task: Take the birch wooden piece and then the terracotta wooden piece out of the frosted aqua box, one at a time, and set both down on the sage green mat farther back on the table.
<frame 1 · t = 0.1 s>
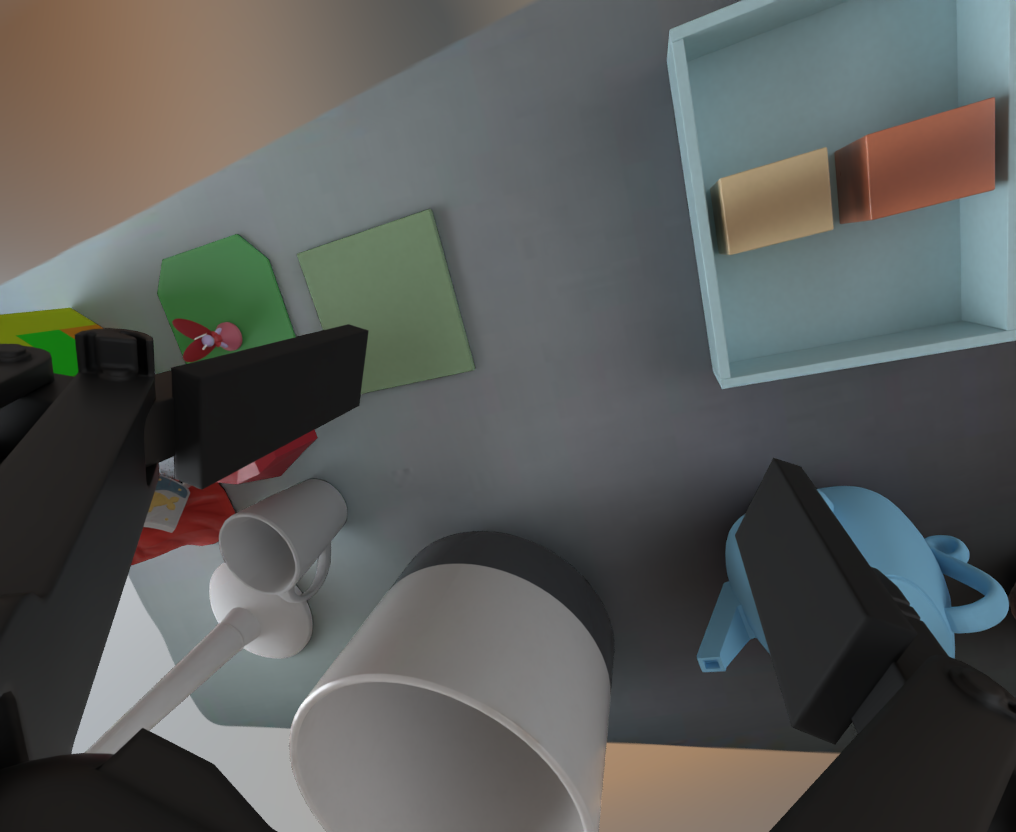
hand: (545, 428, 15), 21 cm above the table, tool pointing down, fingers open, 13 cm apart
mat: (387, 310, 39), on the table
teapot: (800, 548, 36), on the table
box: (818, 194, 29), on the table
puzzle toy: (107, 375, 49), on the table
figurine: (185, 496, 52), on the table
planter: (509, 604, 45), on the table
terracotta piece: (887, 175, 27), resting on box
birch piece: (758, 210, 29), resting on box
cup: (328, 514, 47), on the table
low-poly diorama: (254, 358, 44), on the table
candlestick: (263, 605, 54), on the table
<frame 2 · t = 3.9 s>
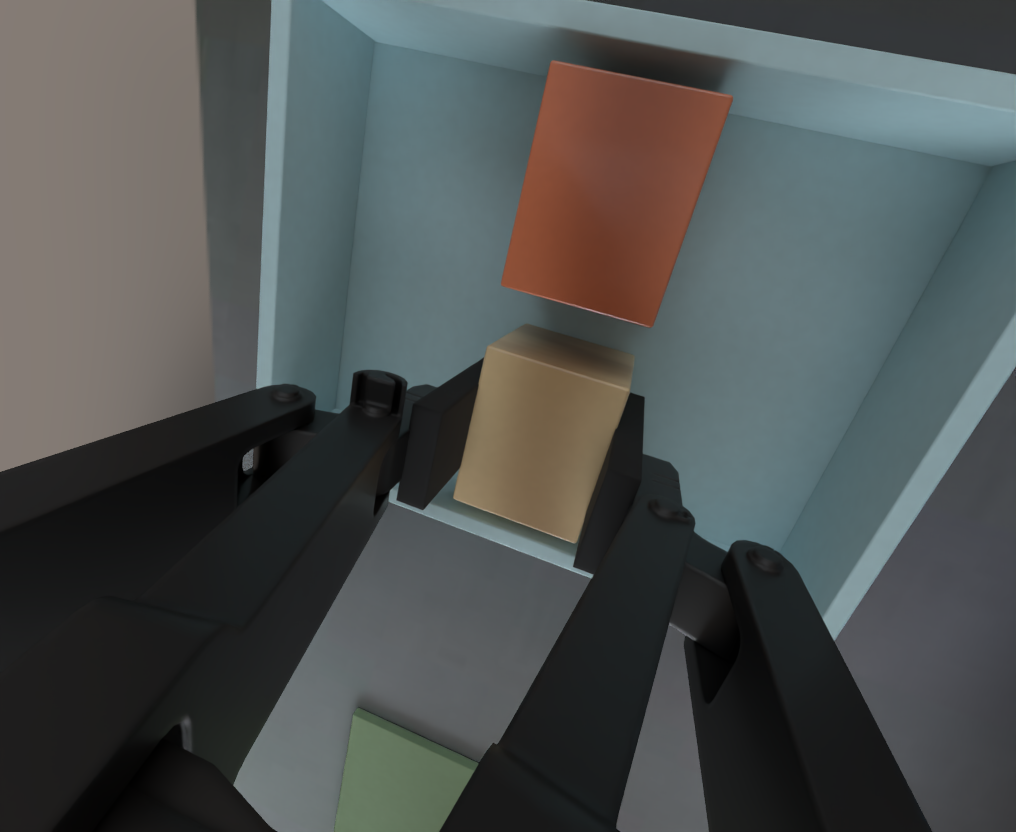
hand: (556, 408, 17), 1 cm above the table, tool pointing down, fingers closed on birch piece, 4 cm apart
mat: (437, 818, 28), on the table
box: (587, 314, 17), on the table
terracotta piece: (616, 213, 15), resting on box
birch piece: (559, 403, 18), resting on box, touching gripper
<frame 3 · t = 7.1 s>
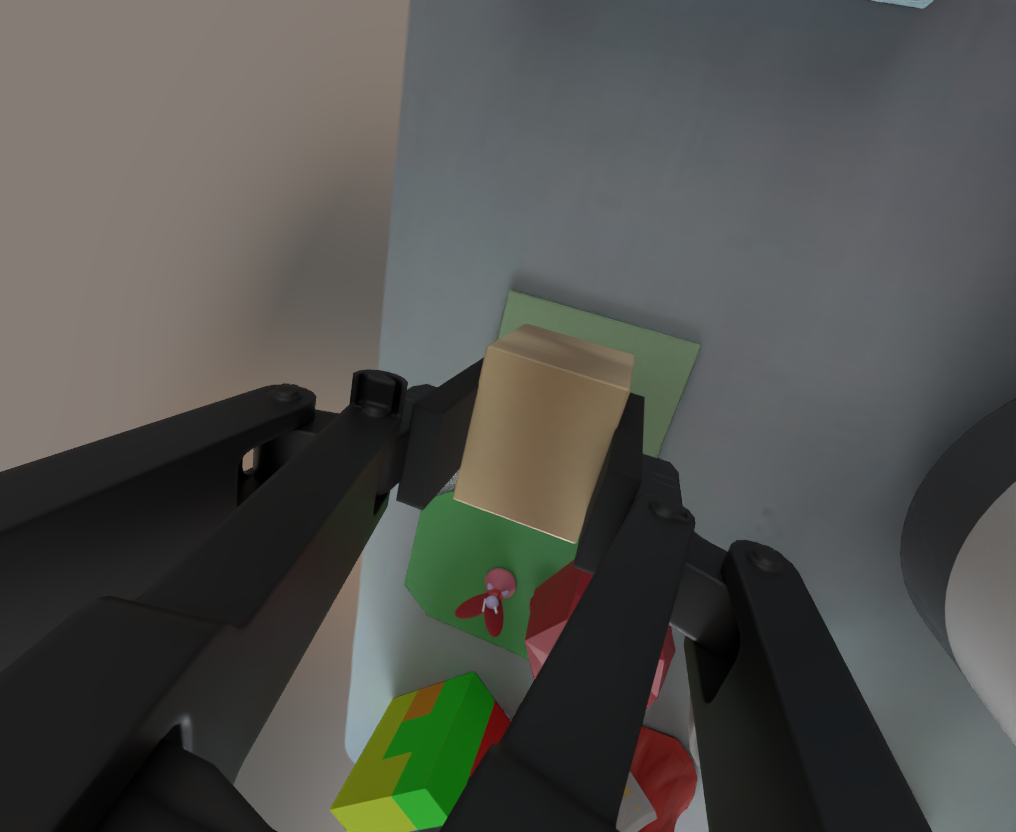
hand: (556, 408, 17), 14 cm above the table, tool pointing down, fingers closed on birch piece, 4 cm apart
mat: (574, 404, 32), on the table
puzzle toy: (463, 724, 45), on the table
figurine: (621, 770, 41), on the table
birch piece: (559, 403, 18), point 14 cm above the table, touching gripper
cup: (753, 644, 34), on the table
low-poly diorama: (535, 578, 38), on the table
when the fingers open (1 cm above the table, at t = 10.4 s): birch piece stays where it is, resting on mat.
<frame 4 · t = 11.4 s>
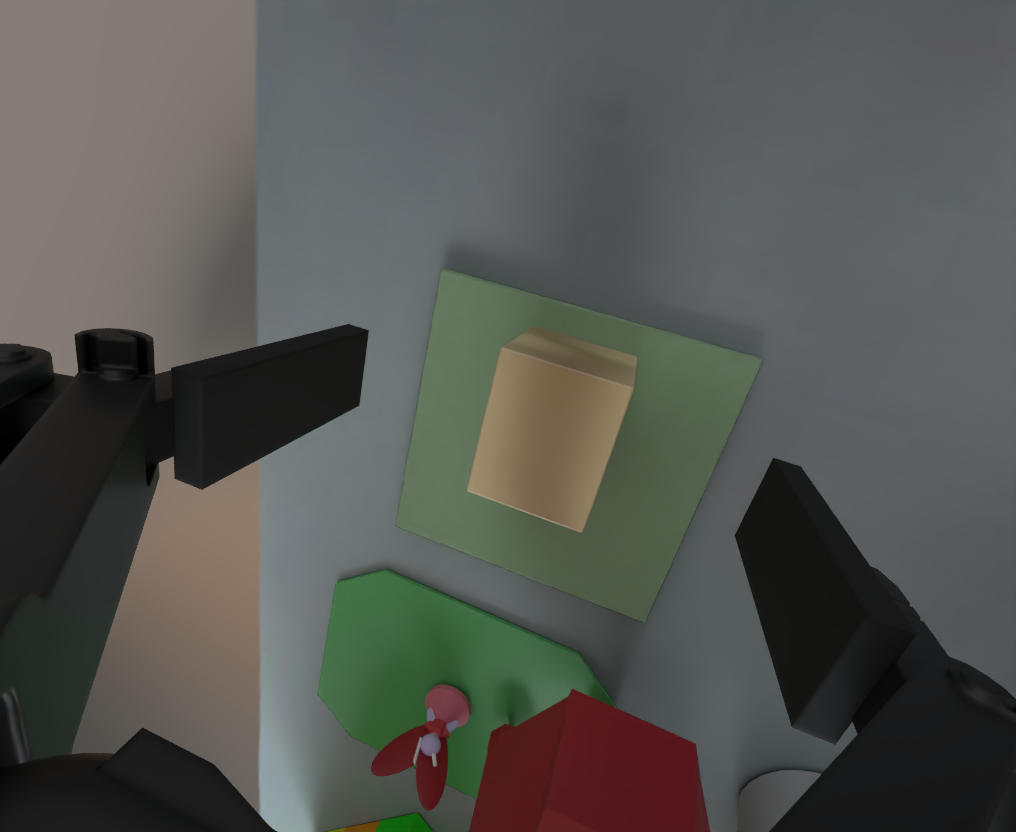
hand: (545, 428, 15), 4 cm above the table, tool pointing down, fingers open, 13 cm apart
mat: (551, 452, 20), on the table
birch piece: (566, 402, 19), resting on mat
cup: (830, 819, 22), on the table
low-poly diorama: (498, 699, 26), on the table
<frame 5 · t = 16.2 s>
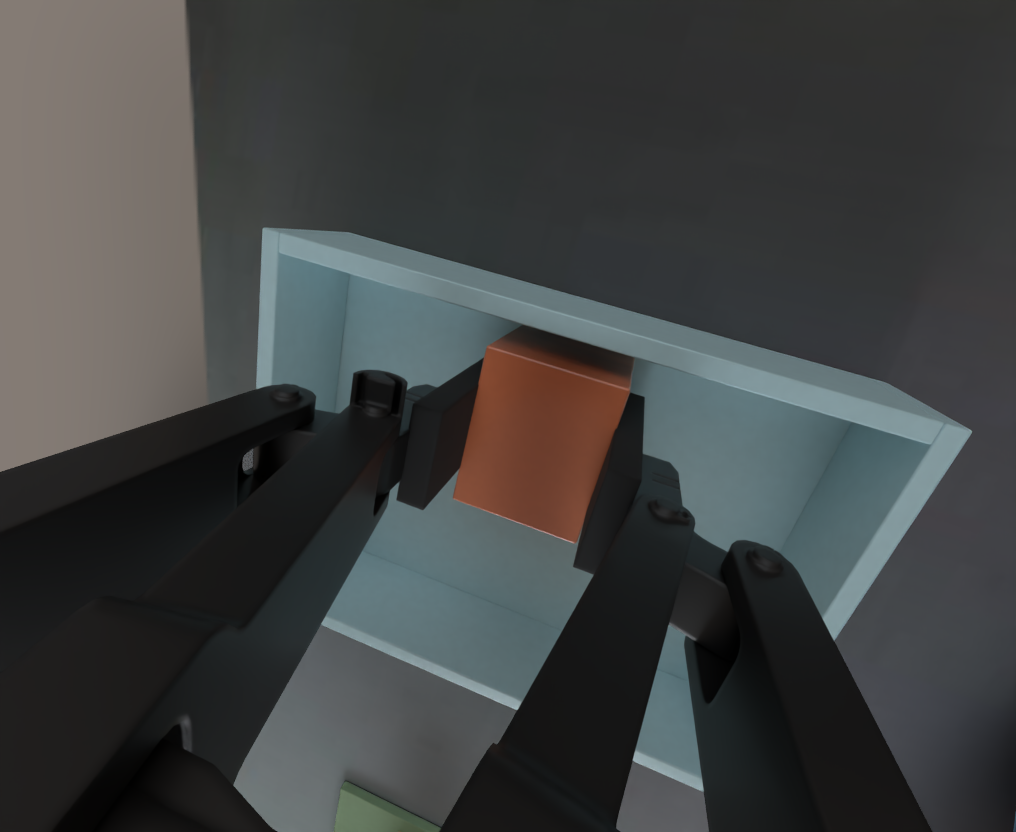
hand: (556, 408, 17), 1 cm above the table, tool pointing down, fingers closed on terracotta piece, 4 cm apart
box: (539, 474, 20), on the table
terracotta piece: (559, 403, 18), resting on box, touching gripper
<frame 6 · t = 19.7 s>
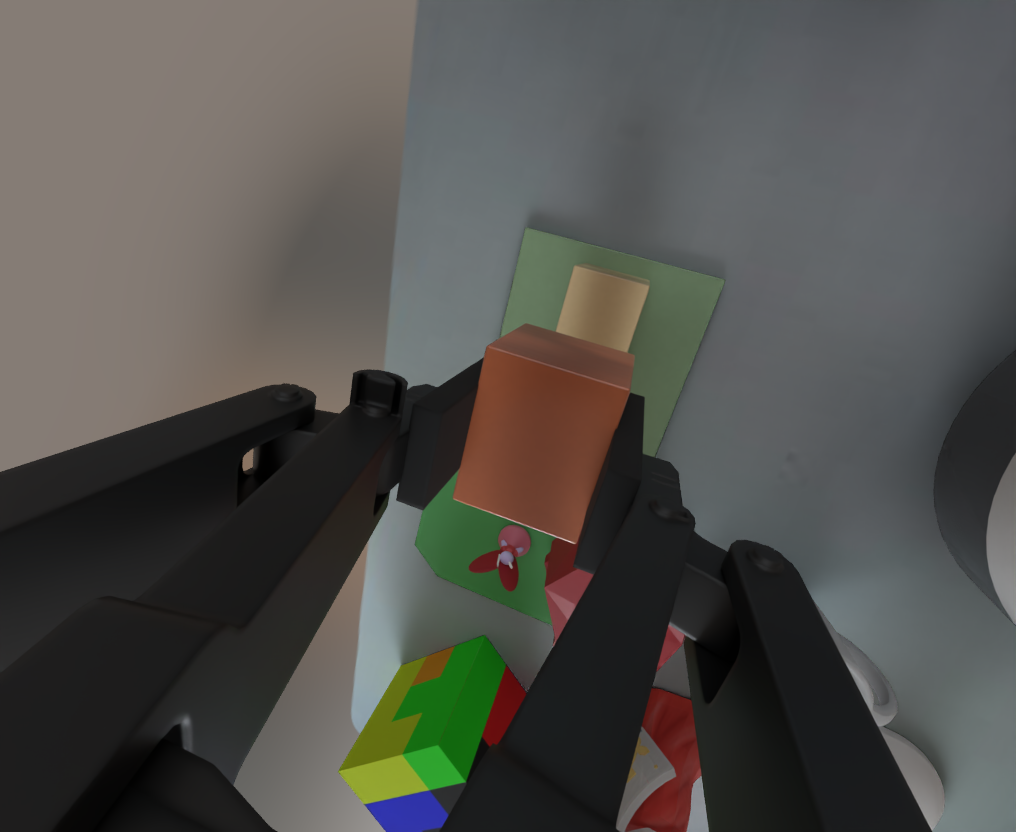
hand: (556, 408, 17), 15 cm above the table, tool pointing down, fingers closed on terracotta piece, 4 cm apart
mat: (592, 348, 31), on the table
puzzle toy: (473, 691, 44), on the table
figurine: (635, 735, 41), on the table
terracotta piece: (559, 403, 18), point 14 cm above the table, touching gripper
birch piece: (604, 312, 30), resting on mat
cup: (775, 599, 33), on the table
low-poly diorama: (550, 535, 37), on the table
candlestick: (835, 778, 37), on the table
when the fingers open (1 cm above the table, at t = 23.3 s): terracotta piece stays where it is, resting on mat.
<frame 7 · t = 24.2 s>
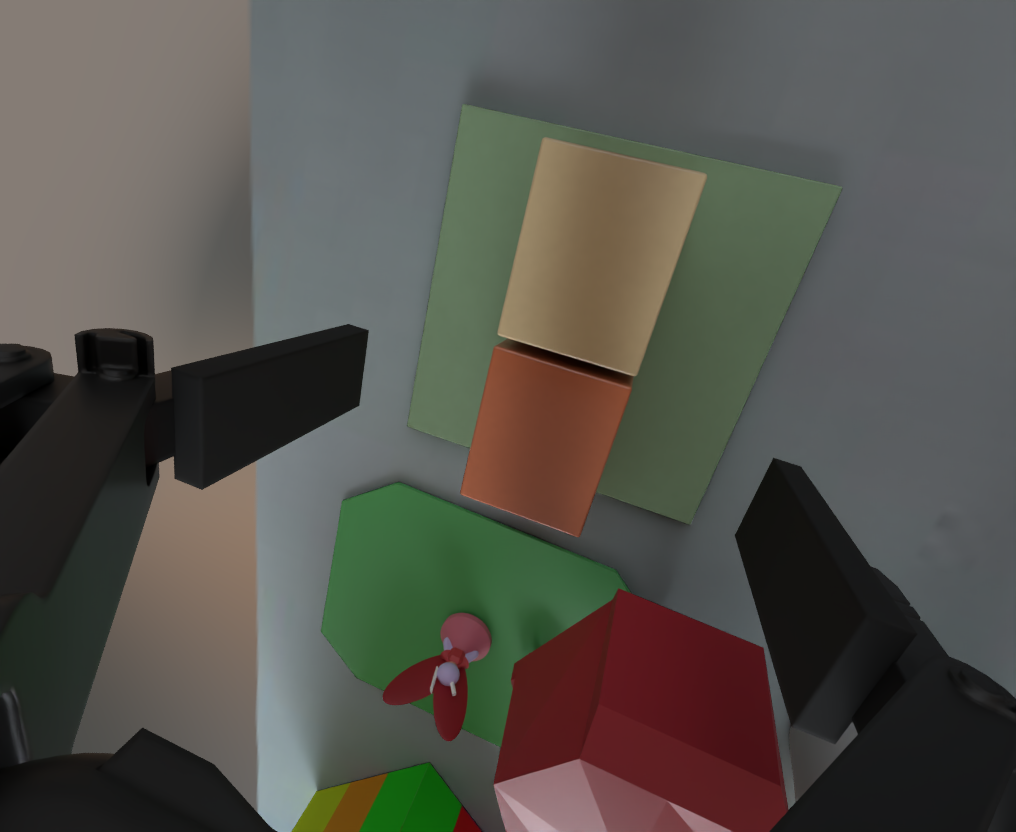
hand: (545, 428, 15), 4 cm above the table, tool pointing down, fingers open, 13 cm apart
mat: (585, 327, 18), on the table
terracotta piece: (563, 402, 18), resting on mat
birch piece: (606, 259, 16), resting on mat
cup: (894, 750, 20), on the table
low-poly diorama: (522, 629, 23), on the table
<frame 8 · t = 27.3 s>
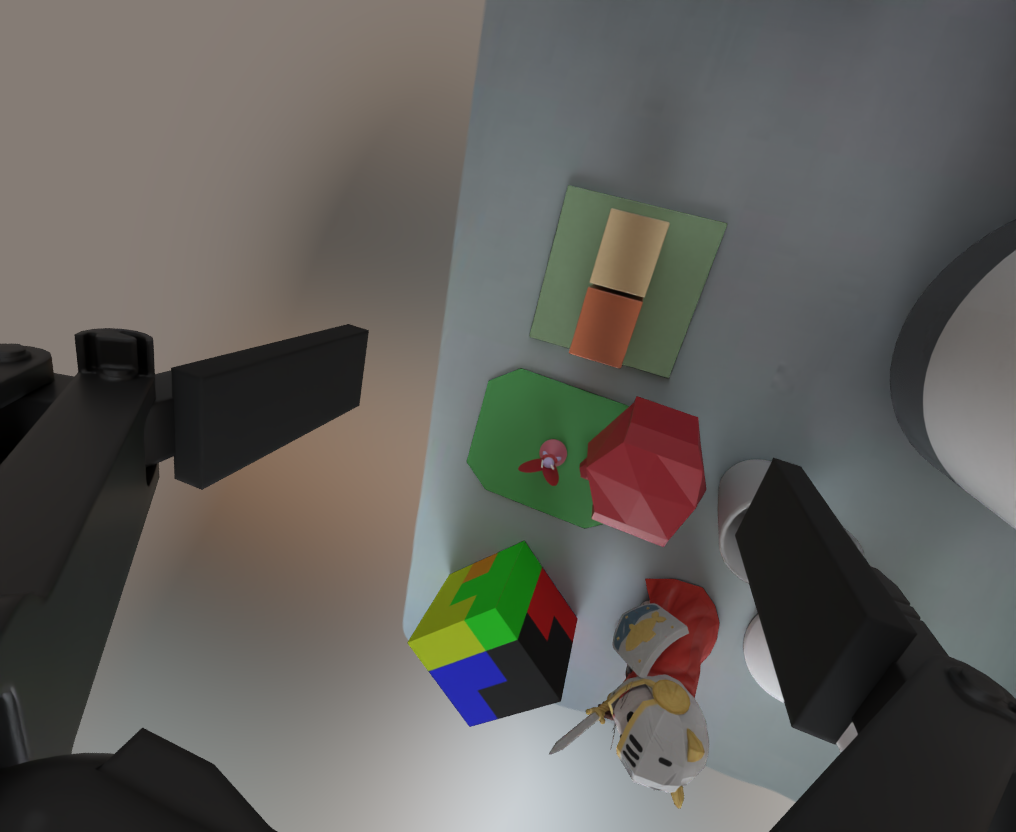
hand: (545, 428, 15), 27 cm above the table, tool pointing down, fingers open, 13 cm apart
mat: (620, 284, 39), on the table
puzzle toy: (512, 594, 51), on the table
figurine: (652, 624, 48), on the table
terracotta piece: (609, 320, 39), resting on mat
birch piece: (630, 253, 37), resting on mat
cup: (769, 492, 41), on the table
low-poly diorama: (582, 448, 44), on the table
candlestick: (820, 650, 44), on the table
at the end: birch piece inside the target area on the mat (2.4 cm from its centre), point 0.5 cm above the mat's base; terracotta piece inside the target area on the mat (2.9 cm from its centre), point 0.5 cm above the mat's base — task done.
